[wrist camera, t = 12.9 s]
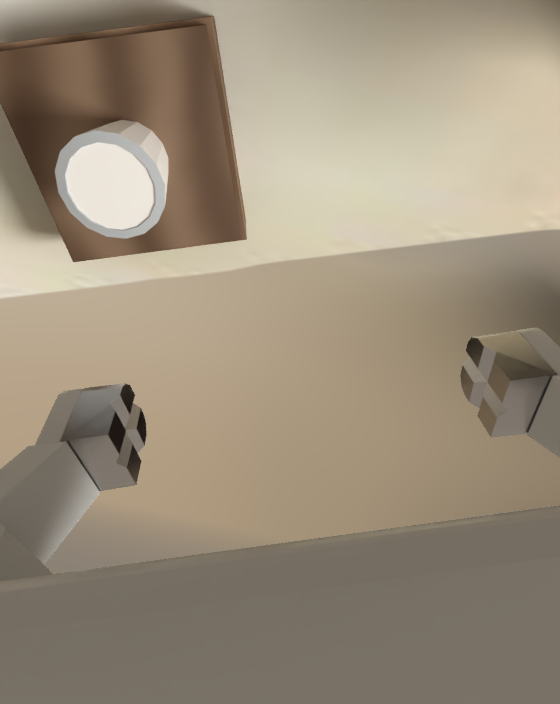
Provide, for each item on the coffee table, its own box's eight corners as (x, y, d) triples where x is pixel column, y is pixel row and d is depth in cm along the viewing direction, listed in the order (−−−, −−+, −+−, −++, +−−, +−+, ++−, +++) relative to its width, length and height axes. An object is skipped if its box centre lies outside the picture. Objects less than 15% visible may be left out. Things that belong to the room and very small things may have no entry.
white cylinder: (81, 188, 33) (52, 222, 28) (88, 94, 30) (56, 112, 24) (167, 215, 35) (156, 251, 30) (185, 130, 31) (175, 154, 26)
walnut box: (214, 16, 32) (210, 16, 27) (245, 217, 42) (246, 243, 38) (7, 42, 32) (-31, 47, 27) (88, 238, 42) (70, 266, 37)
